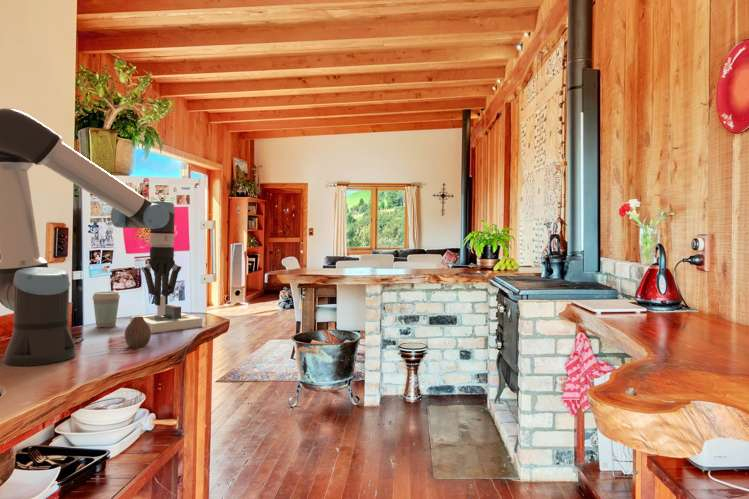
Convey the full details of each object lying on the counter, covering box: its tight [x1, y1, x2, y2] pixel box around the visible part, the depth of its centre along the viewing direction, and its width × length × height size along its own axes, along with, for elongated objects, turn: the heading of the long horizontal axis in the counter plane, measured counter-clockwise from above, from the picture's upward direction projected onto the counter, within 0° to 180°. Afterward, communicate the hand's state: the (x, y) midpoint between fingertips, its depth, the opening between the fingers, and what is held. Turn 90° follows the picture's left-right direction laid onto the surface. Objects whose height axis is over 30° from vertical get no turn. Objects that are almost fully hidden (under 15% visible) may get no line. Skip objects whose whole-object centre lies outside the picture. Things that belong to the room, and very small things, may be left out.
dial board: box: [129, 312, 203, 334], centre depth 168 cm, size 18×18×3 cm
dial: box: [154, 304, 182, 322], centre depth 167 cm, size 12×8×6 cm, turn 49°
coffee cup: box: [91, 291, 121, 328], centre depth 164 cm, size 8×8×12 cm
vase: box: [124, 315, 152, 349], centre depth 137 cm, size 7×7×9 cm
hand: (161, 314), depth 159 cm, fingers closed
